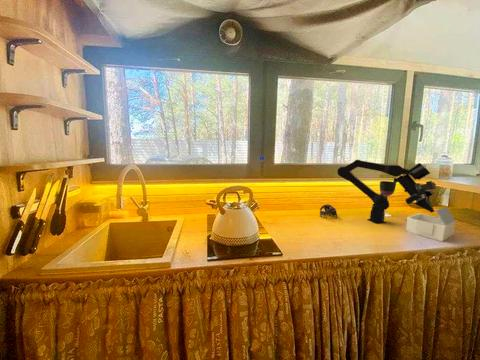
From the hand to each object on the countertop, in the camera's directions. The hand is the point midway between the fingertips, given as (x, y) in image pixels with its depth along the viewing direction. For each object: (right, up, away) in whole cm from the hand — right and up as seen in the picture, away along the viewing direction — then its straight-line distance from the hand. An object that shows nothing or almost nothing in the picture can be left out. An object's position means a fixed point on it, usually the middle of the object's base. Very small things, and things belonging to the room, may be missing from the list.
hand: (433, 211), depth 110 cm
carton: (0, -11, +2) cm, 11 cm away
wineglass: (-4, -6, +31) cm, 32 cm away
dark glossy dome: (-40, -6, +26) cm, 48 cm away
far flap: (+2, -1, -4) cm, 4 cm away
